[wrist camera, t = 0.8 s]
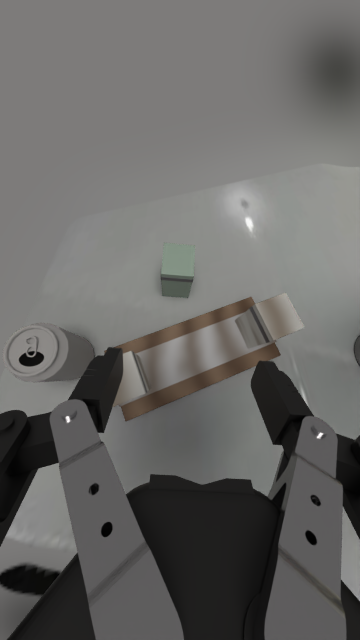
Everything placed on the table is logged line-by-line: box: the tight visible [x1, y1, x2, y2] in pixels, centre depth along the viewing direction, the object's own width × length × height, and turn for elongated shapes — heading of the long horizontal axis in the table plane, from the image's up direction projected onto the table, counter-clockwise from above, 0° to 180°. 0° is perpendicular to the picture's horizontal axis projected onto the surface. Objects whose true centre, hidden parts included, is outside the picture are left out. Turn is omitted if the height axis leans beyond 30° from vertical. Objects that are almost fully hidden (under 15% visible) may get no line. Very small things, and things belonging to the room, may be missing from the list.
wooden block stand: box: [104, 293, 305, 421], centre depth 32 cm, size 29×12×11 cm, turn 112°
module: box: [161, 243, 195, 298], centre depth 36 cm, size 5×6×9 cm
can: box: [3, 323, 94, 382], centre depth 30 cm, size 8×8×12 cm
